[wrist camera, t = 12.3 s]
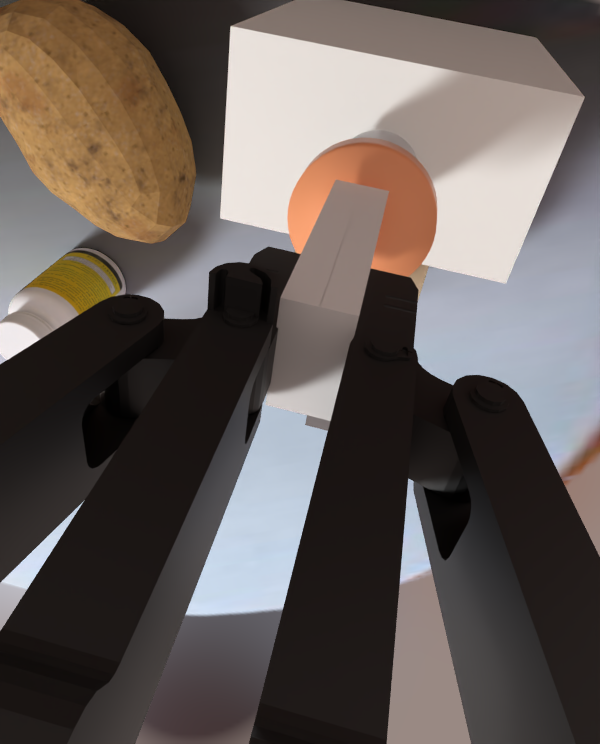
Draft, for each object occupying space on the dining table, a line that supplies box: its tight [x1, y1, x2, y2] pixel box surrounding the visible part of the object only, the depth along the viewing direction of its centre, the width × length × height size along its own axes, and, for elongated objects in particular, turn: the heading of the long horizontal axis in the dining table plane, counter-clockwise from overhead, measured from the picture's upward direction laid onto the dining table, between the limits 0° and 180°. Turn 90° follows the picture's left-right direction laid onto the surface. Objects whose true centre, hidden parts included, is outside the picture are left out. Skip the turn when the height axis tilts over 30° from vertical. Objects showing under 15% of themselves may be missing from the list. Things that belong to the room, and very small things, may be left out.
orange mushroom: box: [287, 130, 438, 277], centre depth 18 cm, size 4×4×5 cm
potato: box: [0, 0, 196, 244], centre depth 33 cm, size 10×14×8 cm
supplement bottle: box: [0, 248, 126, 360], centre depth 41 cm, size 5×5×10 cm
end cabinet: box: [220, 0, 585, 284], centre depth 26 cm, size 7×13×14 cm, turn 82°
